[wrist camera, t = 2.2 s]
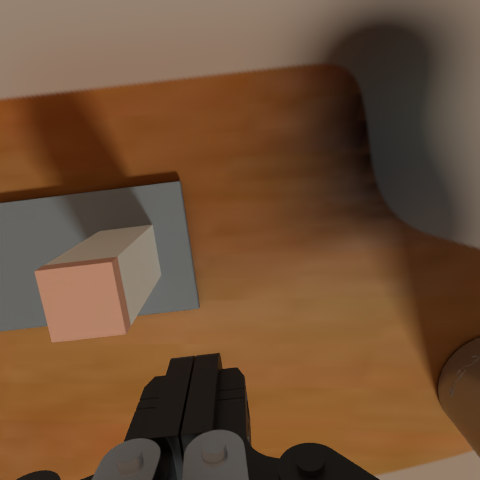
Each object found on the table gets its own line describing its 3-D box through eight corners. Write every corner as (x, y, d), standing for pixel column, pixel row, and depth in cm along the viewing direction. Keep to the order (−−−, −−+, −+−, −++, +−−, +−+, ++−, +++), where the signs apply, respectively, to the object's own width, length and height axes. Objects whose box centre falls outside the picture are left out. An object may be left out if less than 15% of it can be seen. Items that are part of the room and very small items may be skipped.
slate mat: (180, 180, 30) (179, 181, 30) (199, 305, 32) (199, 308, 32) (-56, 209, 30) (-61, 210, 30) (-21, 331, 33) (-25, 334, 32)
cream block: (152, 224, 30) (111, 262, 20) (161, 275, 31) (125, 334, 21) (99, 230, 30) (34, 271, 21) (110, 281, 31) (51, 342, 21)
